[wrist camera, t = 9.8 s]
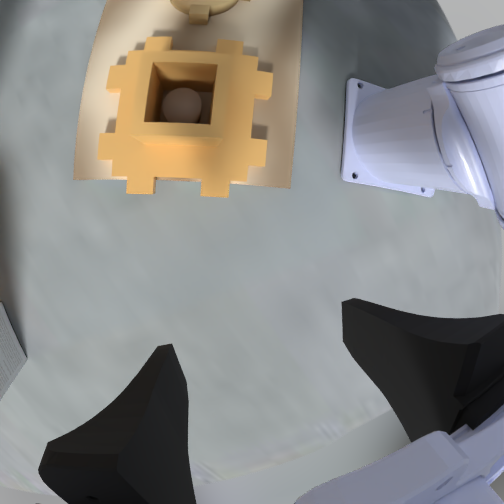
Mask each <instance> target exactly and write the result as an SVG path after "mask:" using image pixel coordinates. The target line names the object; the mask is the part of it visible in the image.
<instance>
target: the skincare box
mask: <svg viewBox="0 0 504 504" xmlns="http://www.w3.org/2000/svg"><path fill="white" fill-rule="evenodd" d="M26 361H27V358H26V356H25V354H24V352H23V350H22V348H21V346H20V344H19V342H18V339H17V337H16V335H15V333H14V331H13V328H12V326H11V324H10V321H9V319H8V317H7V314H6V312H5V309H4V306H3V304H2V302H0V401H1V399H2V398H3V396H4V394H5V393H6V391H7V390H8V388H9V387H10V385H11V384H12V382H13V381H14V379H15V378H16V376H17V375H18V373H19V372H20V370H21V369H22V367H23V366H24V364H25V363H26Z"/></svg>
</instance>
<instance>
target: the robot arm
mask: <svg viewBox="0 0 504 504" xmlns="http://www.w3.org/2000/svg"><path fill="white" fill-rule="evenodd" d="M434 70H435V72H436V74H435V75H431V76H428V77H424V78H421V79H418V80H415V81H411V82H408V83H405V84H402V85H399V86H396V87H393V88H390V89H385V88H382V87H380V86H377V85H374V84H371V83H368V82H365V81H362V80H359V79H356V78H351V79H349V80H348V81H347V87H346V112H345V129H344V144H343V156H342V168H341V177H342V179H343V180H344V181H347V182H354V183H360V184H365V185H371V186H377V187H382V188H387V189H393V190H398V191H403V192H408V193H412V194H417V195H422V196H426V197H432V196H433V195H434V190H435V189H439V190H446V191H453V192H459V193H465V194H471V195H472V196H474V197H475V198H476V200H477V202H478V204H479V206H480V207H484V208H488V209H493V210H495V212H496V216H497V219H498V222H499V223H500V225H501V227H502V228H503V229H504V25H499V26H495V27H492V28H489V29H485V30H482V31H480V32H477V33H474V34H472V35H470V36H467V37H465V38H463V39H461V40H459V41H457V42H455V43H453V44H451V45H449V46H448V47H446V48H445V49H443V50H442V51H441V52H440V53H439V54H438V57H437V63H436V64H435V67H434ZM357 84H359V85H360V86H361V89H360V88H359V87H358V85H357ZM353 173H355V175H356V176H355V178H354V179H353V177H352V174H353ZM421 188H422V191H421ZM342 324H343V342H344V344H345V345H346V347H347V349H348V351H349V352H350V354H351V355H352V357H353V358H354V360H355V361H356V362H357V363H358V364H359V366H360V367H361V368H362V369H363V370H364V372H365V373H366V374H367V375H368V376H369V377H370V379H371V380H372V381H373V382H374V383H375V385H376V386H377V387H378V388H379V389H380V391H381V392H382V393H383V395H384V396H385V397H386V399H387V400H388V402H389V404H390V405H391V407H392V408H393V410H394V412H395V413H396V415H397V417H398V418H399V420H400V422H401V423H402V425H403V427H404V429H405V431H406V433H407V435H408V437H409V439H410V441H411V443H410V444H408V445H407V446H405V447H403V448H401V449H399V450H397V451H395V452H394V453H392V454H389V455H387V456H386V457H383V458H382V459H379V460H377V461H375V462H373V463H371V464H368V465H366V466H364V467H362V468H359V469H357V470H355V471H352V472H350V473H347V474H345V475H342V476H340V477H337V478H334V479H332V480H330V481H328V482H325V483H323V484H321V485H319V486H316V487H314V488H312V489H311V490H309V491H308V492H307V493H305V494H304V495H302V496H301V497H299V498H298V499H297V500H296V502H295V503H294V504H504V502H503V501H502V500H501V499H500V498H499V496H498V495H497V494H496V493H495V492H494V491H493V489H492V488H491V487H490V486H489V485H490V484H491V483H492V482H493V481H494V480H495V479H496V478H497V477H498V476H499V475H500V474H501V473H502V472H503V471H504V314H497V315H491V316H485V317H478V318H437V317H429V316H422V315H416V314H412V313H407V312H403V311H399V310H395V309H392V308H388V307H385V306H381V305H378V304H375V303H371V302H368V301H364V300H361V299H356V298H353V299H350V300H346V301H343V302H342ZM188 404H189V401H188V391H187V382H186V379H185V377H184V374H183V371H182V369H181V366H180V364H179V361H178V358H177V356H176V353H175V350H174V347H173V345H172V344H167V345H162V346H158V347H157V348H156V349H155V351H154V352H153V353H152V355H151V356H150V358H149V359H148V360H147V362H146V363H145V365H144V366H143V367H142V369H141V370H140V371H139V373H138V374H137V375H136V376H135V378H134V379H133V380H132V381H131V382H130V384H129V385H128V386H127V387H126V388H125V389H124V391H123V392H122V393H121V394H120V395H119V396H118V397H117V398H116V399H115V400H114V401H113V402H111V403H110V404H109V405H108V406H107V407H106V408H105V409H103V410H102V411H101V412H99V413H98V414H97V415H96V416H94V417H93V418H92V419H90V420H89V421H87V422H86V423H84V424H83V425H81V426H79V427H78V428H76V429H74V430H73V431H71V432H69V433H67V434H65V435H63V436H61V437H59V438H56V439H54V440H52V441H50V442H48V443H47V446H46V449H45V451H44V454H43V457H42V460H41V463H40V466H39V469H38V471H39V475H40V477H41V478H42V480H43V482H44V483H45V484H46V485H47V486H48V487H49V488H50V489H51V490H53V491H54V492H55V493H56V494H57V495H58V496H60V497H61V498H62V499H63V500H64V501H66V502H67V503H68V504H196V500H195V495H194V489H193V484H192V478H191V471H190V464H189V456H188ZM36 504H39V503H36Z"/></svg>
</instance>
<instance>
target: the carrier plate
mask: <svg viewBox="0 0 504 504" xmlns="http://www.w3.org/2000/svg"><path fill="white" fill-rule="evenodd" d="M302 19H303V0H107V2H106V5H105V7H104V10H103V13H102V16H101V20H100V23H99V26H98V29H97V33H96V36H95V40H94V44H93V48H92V51H91V56H90V60H89V64H88V68H87V73H86V78H85V83H84V88H83V94H82V100H81V106H80V113H79V120H78V128H77V137H76V147H75V160H74V177H73V180H87V179H127V176H111V175H112V160H97V155H98V144H99V134H100V133H115V128H116V120H117V112H118V105H119V98H120V93H109V92H108V91H107V90H106V85H107V79H108V74H109V69H110V66H113V65H125V64H126V59H127V55H128V51H135V50H144V47H145V43H146V38H147V37H172V39H173V46H172V50H194V51H210V52H216V45H217V40H218V39H226V40H235V41H243V42H244V44H243V52H242V55H249V56H256V57H258V67H257V71H263V72H269V73H273V83H272V94H271V97H270V98H269V99H268V100H263V99H256V98H254V108H253V119H252V130H251V138H253V139H262V140H267V151H266V162H265V167H257V166H248V174H247V182H243V181H230V183H231V184H244V185H256V186H268V187H278V188H288V189H290V186H291V175H292V164H293V153H294V142H295V130H296V117H297V104H298V90H299V75H300V58H301V40H302ZM211 95H212V92H196V91H194V90H192V89H189V88H177V89H175V90H173V91H170V90H164V91H163V98H162V105H161V113H160V122H168V123H194V124H208V122H209V113H210V104H211ZM156 180H175V181H198V182H202V179H197V178H175V177H156Z"/></svg>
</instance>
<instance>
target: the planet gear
mask: <svg viewBox="0 0 504 504" xmlns="http://www.w3.org/2000/svg"><path fill="white" fill-rule="evenodd" d="M243 44H244V42H243V41H235V40H226V39H218V40H217V45H216V52H210V51H194V50H172V46H173V39H172V37H147V38H146V43H145V47H144V50H135V51H128V55H127V59H126V64H125V65H113V66H110V69H109V74H108V79H107V85H106V90H107V91H108V92H109V93H120V98H119V105H118V112H117V120H116V128H115V133H100V134H99V144H98V155H97V160H112V175H111V176H127V193H126V194H154V193H155V188H156V177H175V178H197V179H202V182H201V196H210V197H227V198H228V196H229V184H230V181H243V182H247V174H248V166H257V167H265V162H266V151H267V140H262V139H253V138H251V130H252V119H253V108H254V98H256V99H263V100H268V99H269V98H270V97H271V94H272V83H273V73H269V72H263V71H257V67H258V57H256V56H249V55H242V52H243ZM177 88H189V89H192V90H194V91H196V92H212V95H211V104H210V113H209V122H208V124H194V123H168V122H160V113H161V105H162V98H163V91H164V90H170V91H173V90H175V89H177Z"/></svg>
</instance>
